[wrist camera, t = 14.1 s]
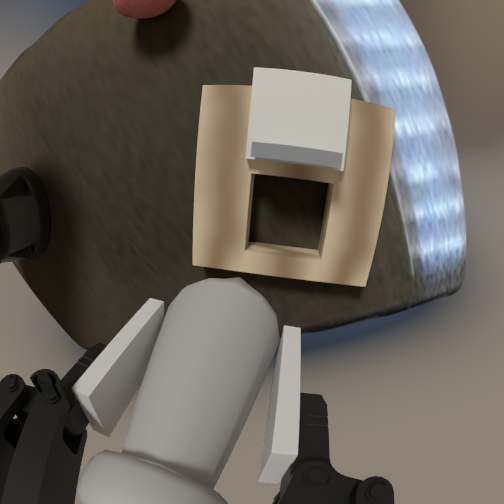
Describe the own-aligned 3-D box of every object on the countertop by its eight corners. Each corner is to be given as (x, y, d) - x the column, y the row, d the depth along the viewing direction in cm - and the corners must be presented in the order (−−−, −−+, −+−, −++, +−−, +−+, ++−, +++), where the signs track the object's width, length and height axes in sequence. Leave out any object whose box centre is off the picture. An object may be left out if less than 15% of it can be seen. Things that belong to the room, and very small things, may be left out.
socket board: (201, 254, 31) (192, 264, 28) (211, 91, 24) (203, 85, 21) (358, 274, 29) (365, 286, 26) (385, 113, 23) (395, 109, 20)
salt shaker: (264, 358, 16) (222, 563, 4) (178, 330, 17) (74, 507, 4) (296, 280, 14) (278, 567, 2) (192, 247, 14) (8, 454, 2)
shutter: (247, 158, 24) (240, 159, 20) (255, 70, 20) (250, 58, 17) (341, 170, 23) (349, 173, 20) (349, 82, 20) (358, 72, 17)
